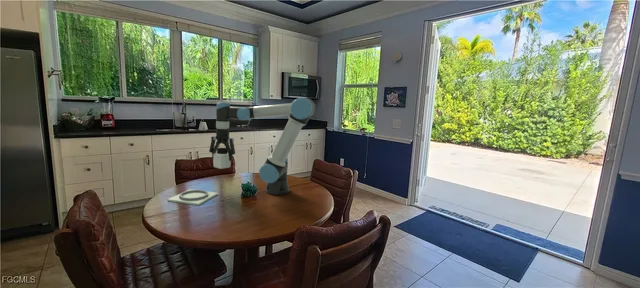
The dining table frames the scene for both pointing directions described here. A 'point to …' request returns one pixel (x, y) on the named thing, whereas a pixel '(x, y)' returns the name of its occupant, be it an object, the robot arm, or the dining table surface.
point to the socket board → (193, 197)
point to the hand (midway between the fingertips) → (222, 164)
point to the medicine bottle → (221, 158)
